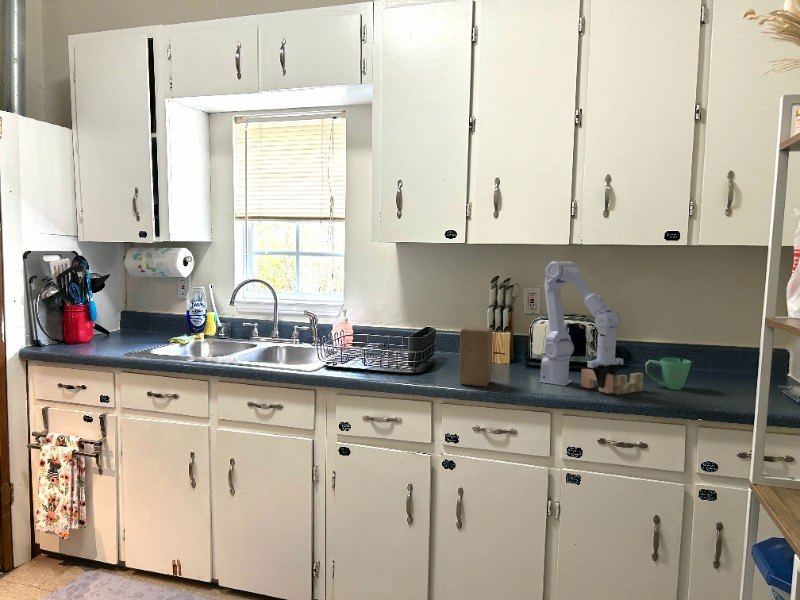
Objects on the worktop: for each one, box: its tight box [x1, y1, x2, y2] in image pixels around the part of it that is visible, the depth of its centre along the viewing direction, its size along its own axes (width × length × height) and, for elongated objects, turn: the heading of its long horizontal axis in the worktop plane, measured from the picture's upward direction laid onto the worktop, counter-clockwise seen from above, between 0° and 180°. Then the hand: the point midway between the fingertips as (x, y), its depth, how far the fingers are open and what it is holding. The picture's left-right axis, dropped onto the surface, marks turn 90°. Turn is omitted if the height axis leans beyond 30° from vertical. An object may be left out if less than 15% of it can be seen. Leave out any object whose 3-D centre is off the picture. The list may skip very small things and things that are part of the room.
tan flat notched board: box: [580, 368, 614, 394], centre depth 193 cm, size 12×2×6 cm, turn 27°
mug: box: [645, 357, 692, 391], centre depth 200 cm, size 15×10×10 cm
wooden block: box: [458, 325, 494, 388], centre depth 202 cm, size 10×10×20 cm
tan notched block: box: [612, 372, 644, 395], centre depth 193 cm, size 12×2×6 cm, turn 117°
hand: (604, 387), depth 190 cm, fingers closed on tan flat notched board, 2 cm apart
